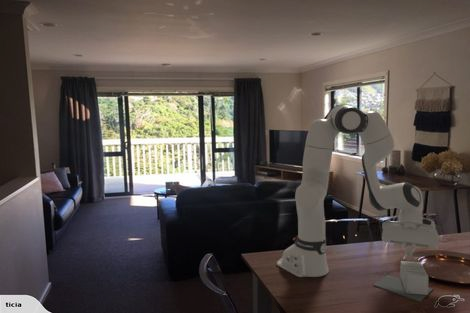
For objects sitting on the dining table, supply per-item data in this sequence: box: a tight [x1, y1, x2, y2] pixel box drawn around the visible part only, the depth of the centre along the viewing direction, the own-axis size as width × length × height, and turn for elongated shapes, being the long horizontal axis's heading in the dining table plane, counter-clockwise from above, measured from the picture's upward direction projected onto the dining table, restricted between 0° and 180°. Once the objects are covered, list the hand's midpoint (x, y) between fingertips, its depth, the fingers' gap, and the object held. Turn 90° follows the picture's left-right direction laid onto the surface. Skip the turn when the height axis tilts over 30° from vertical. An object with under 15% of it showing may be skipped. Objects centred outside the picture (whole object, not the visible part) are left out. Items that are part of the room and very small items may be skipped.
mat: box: [373, 274, 434, 303], centre depth 136 cm, size 17×12×1 cm
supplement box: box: [399, 260, 430, 296], centre depth 135 cm, size 7×7×13 cm
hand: (408, 254), depth 139 cm, fingers closed
